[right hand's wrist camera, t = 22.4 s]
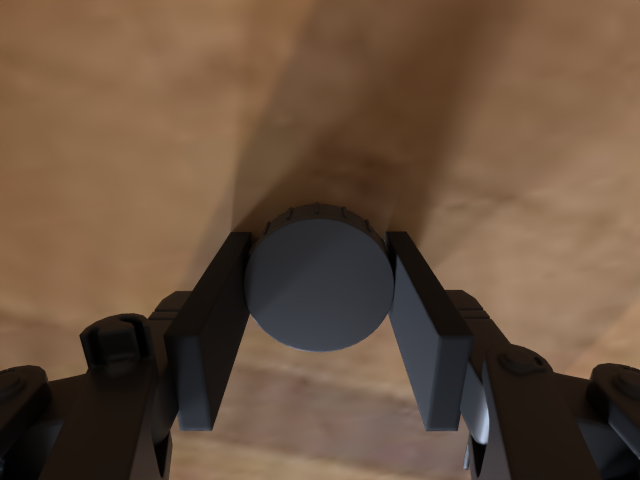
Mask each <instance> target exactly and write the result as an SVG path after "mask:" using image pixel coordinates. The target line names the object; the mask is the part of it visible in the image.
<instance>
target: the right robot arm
mask: <svg viewBox="0 0 640 480" xmlns="http://www.w3.org/2000/svg"><path fill="white" fill-rule="evenodd" d="M385 245H386V247H387V250H388V252H389V253H387V256H388V258H389V261H390V264H391V266H392V269H393V274H394V283H395V288H394V296H393V301H392V304H391V307H390V309H389V312H388V315H389V318H390V322H391V325H392V328H393V331H394V334H395V337H396V340H397V343H398V346H399V349H400V352H401V355H402V358H403V361H404V365H405V368H406V371H407V374H408V377H409V380H410V383H411V386H412V389H413V392H414V395H415V398H416V401H417V405H418V408H419V411H420V414H421V417H422V420H423V423H424V426H425V429H426V431H458V426H459V420H460V415H461V413H462V416H463V418H464V420H465V422H466V424H467V427H468V429H469V431H470V433H469V438H468V443H467V448H466V453H465V459H464V465H463V469H466V470H468V467H469V462H470V470H471V479H472V480H640V370H639V369H636V368H633V367H632V368H631V367H630V366H626V365H620V364H612V363H606V364H599V365H597V366H596V367H595V368H594V369H593V370H592V373H591V377H590V380H588V379H583V378H578V377H573V376H568V375H563V374H559V373H555V372H553V370H552V368H551V366H550V365H549V364H548V362H547V361H546V360H545V359H544V358H543V357H541V356H540V355H539V354H537V353H536V352H534V351H531V350H529V349H527V348H525V347H522V346H518V345H513V344H511V343H510V342H509V341H508V340H507V338H506V337H505V336H504V335H503V333H502V332H501V331H500V329H499V328H498V327H497V326H496V324H495V323H494V322H493V320H492V319H490V317H489V315H488V314H487V313H486V311H483V308H482V306H481V305H480V304H479V303H478V301H477V300H476V299H475V298H474V297H472V296H471V295H469V294H467V293H466V292H464V291H463V290H444V288H443V287H442V285H441V284H440V282H439V281H438V279H437V278H436V276H435V275H434V273H433V272H432V270H431V269H430V267H429V265H428V264H427V262H426V261H425V259H424V258H423V256H422V255H421V253H420V252H419V250H418V249H417V247H416V246H415V244H414V243H413V241H412V240H411V238H410V237H409V235H408V234H407V232H386V242H385ZM251 248H252V239H251V232H231V233H230V234H229V236H228V237H227V239H226V240H225V242H224V244H223V245H222V247H221V248H220V250H219V251H218V253H217V254H216V256H215V257H214V259H213V260H212V262H211V263H210V265H209V266H208V268H207V269H206V271H205V272H204V274H203V276H202V277H201V279H200V280H199V282H198V283H197V285H196V286H195V288H194V289H193V291H175V292H174V293H172V294H171V295H169V296H168V297H166V298H164V299H163V300H162V301H161V302H160V304H159V305H158V306H157V308H156V309H155V312H153V313H152V314H151V315H150V317H149V318H148V319H147V318H146V317H144V316H143V315H139V314H134V313H130V314H119V315H114V316H109V317H107V318H104V319H102V320H99V321H96V322H95V323H93V324H92V325H90V326H88V327H87V328H86V329H85V330H84V331H83V332H82V333H81V334H80V335H79V336H80V340H81V343H82V347H83V350H84V354H85V358H86V361H87V365H88V370H87V372H86V374H82V375H79V376H74V377H69V378H64V379H60V380H55V381H50V382H49V381H48V378H47V375H46V372H45V371H44V370H43V369H42V368H41V367H39V366H32V365H26V366H18V367H13V368H9V369H7V370H6V369H5V370H3V371H0V480H169V471H170V463H171V454H172V438H171V433H170V428H171V426H172V424H173V422H174V420H175V417H176V415H177V414H178V420H179V425H180V431H212V429H213V426H214V423H215V420H216V417H217V414H218V410H219V407H220V404H221V401H222V398H223V395H224V392H225V389H226V386H227V383H228V380H229V376H230V373H231V370H232V367H233V364H234V361H235V358H236V355H237V352H238V349H239V345H240V342H241V339H242V336H243V333H244V330H245V327H246V324H247V321H248V318H249V315H250V311H249V309H248V306H247V304H246V301H245V296H244V289H243V280H244V273H245V268H246V265H247V262H248V260H249V256H248V254H249V252H250V250H251Z"/></svg>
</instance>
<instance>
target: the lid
mask: <svg viewBox="0 0 640 480" xmlns="http://www.w3.org/2000/svg"><path fill="white" fill-rule="evenodd" d="M387 253H389V252H388V250H387V247H386V245H385V242H384V240H383V239H380V238H379V236H378V234H377V233H376V232H375V230H374V229H373V228H372V227H371V226H370V224H369V221H368V220H367V219H366V220H364V219H362V218H361V217H360V216H358V215H356V214H355V213H353V212H351V211H348V210H346V207H344V206H343V207H342V208H340V207H336V206H332V205H320V204H319V202H316V203H315V205H306V206H302V207H298V208H295V209H292V207H291V208H289V210H288V211H287V212H286V213H284V214H282V215H280V216H279V217H277V218H276V219H275V220H273V221H272V222H271V223H270V222H268V223H267V225H266V227H265V229H264V231H263V232H262V233H261V235H260V237H259V239H258V240H257V242H254V243H253V245H252V248H251V250H250V252H249V254H248V256H249V260H248V262H247V265H246V268H245V273H244V280H243V289H244V296H245V301H246V304H247V306H248V309H249V311H250V313H251V315H252V317H253V318H254V320H255V321H256V322H257V324H258V325H259V326H260V327H261V328H262V329H263V330H264V331H265V332H266V333H267V334H268V335H270V336H271V337H272V338H274V339H275V340H277V341H278V342H280V343H282V344H284V345H287V346H289V347H292V348H295V349H299V350H303V351H310V352H329V351H336V350H340V349H344V348H347V347H350V346H352V345H354V344H356V343H358V342H360V341H362V340H363V339H365V338H366V337H368V336H369V335H370V334H371V333H373V332H374V331H375V330H376V329H377V328H378V327H379V325H380V324H381V323H382V322H383V320H384V319H385V317H386V315H387V313H388V312H389V309H390V307H391V304H392V301H393V296H394V288H395V283H394V274H393V269H392V266H391V264H390V261H389V258H388V256H387Z"/></svg>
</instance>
